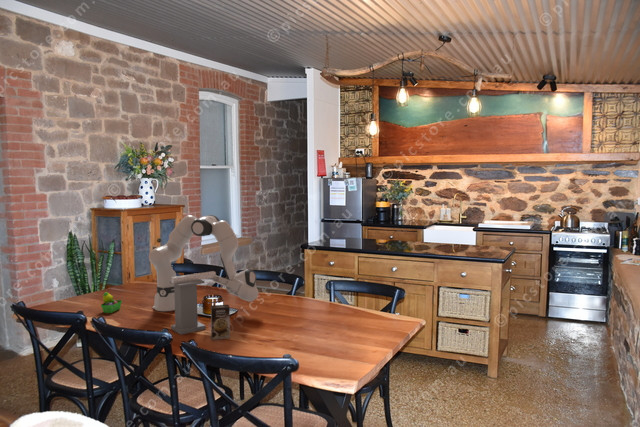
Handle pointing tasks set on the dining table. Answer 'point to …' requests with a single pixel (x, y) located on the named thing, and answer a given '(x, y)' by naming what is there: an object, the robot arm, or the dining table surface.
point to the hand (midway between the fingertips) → (214, 277)
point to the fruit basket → (110, 303)
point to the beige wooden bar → (193, 277)
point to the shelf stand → (186, 307)
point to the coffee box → (220, 322)
